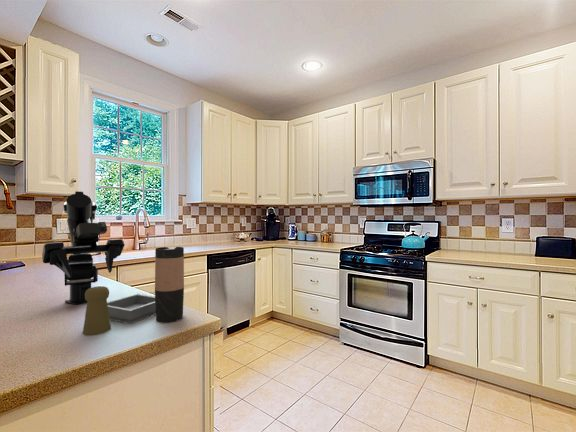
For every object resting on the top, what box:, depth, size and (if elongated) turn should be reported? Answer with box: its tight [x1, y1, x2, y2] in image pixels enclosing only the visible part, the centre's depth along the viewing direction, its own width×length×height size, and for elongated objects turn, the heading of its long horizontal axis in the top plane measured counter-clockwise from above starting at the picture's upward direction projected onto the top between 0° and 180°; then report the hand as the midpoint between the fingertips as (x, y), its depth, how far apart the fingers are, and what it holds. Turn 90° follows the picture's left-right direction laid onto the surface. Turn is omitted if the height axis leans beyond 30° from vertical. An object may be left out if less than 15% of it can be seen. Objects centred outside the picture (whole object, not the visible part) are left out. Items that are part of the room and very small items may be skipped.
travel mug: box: [154, 246, 185, 324], centre depth 83 cm, size 8×8×20 cm
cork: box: [82, 285, 112, 336], centre depth 74 cm, size 6×6×11 cm
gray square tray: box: [107, 293, 156, 325], centre depth 87 cm, size 13×13×4 cm
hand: (91, 274), depth 79 cm, fingers open, 9 cm apart
